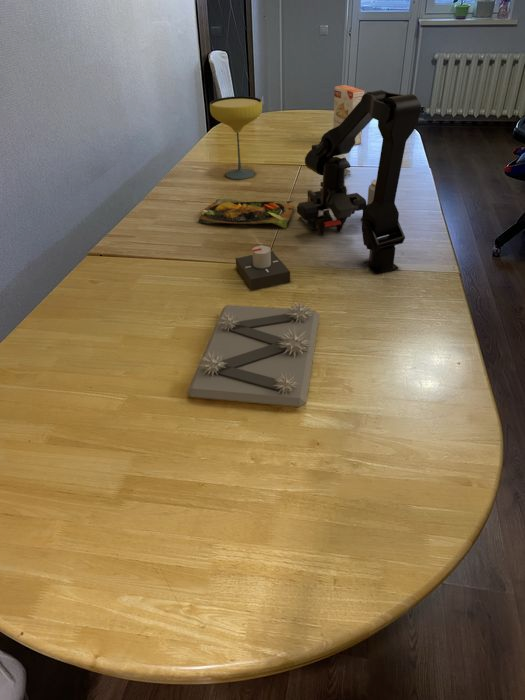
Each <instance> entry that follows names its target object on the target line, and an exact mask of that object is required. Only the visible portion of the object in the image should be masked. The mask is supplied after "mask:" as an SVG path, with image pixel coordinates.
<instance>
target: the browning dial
mask: <svg viewBox="0 0 525 700" xmlns="http://www.w3.org/2000/svg"><path fill="white" fill-rule="evenodd" d="M271 251H272V250H271V247H269V246H267V245H257V246H255V247H253V248H252V255H253V266H254V267H256V268H261V269H262V268H267V267H269V266H270V265H271Z"/></svg>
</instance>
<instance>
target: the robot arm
mask: <svg viewBox="0 0 525 700" xmlns="http://www.w3.org/2000/svg"><path fill="white" fill-rule="evenodd" d="M421 112H422V104H421V103H420V101H419V98H418V97H417V95H416V94H413V93H407V94H401V93H394V92H388V91H386V90H383V89H379V90H374V91H367V92H364V95H363V96H362V99H361V101H360V102H359V103H358V104H357V105H356V107H355V108H354V109H353V110H352V111H351V112H350V114H349V115H348V116H347V117H346V118H345V119H344V121H343V122H342V123H341V124H340V125H339V126H337V127H335V128H333V127H332V128H331V129H329V130H328V131H326V132H325V133H323V134H322V135H321V138H320V141H319V143H316V144H312V145H311V149H310V150H309V151H308V152H307V153H306V155H305V158H304V165H305V167H306V168H307V169H309V170H310V171H312V172H313V173H316V174H317V175H319V176H322V181H320V188H322V196H321V197H320V201H321V202H322V204H317V205H315V204H314V203H312V202H311V201H308V200H307V201H301V202H299V203H298V204H297V206H296V213H297V214H298V215H299V217H302V218H303V219H304V220H310V219H314V220H315V222H316V225H317V228H318V230H317V231H318V233H319V235H320V236H324V234H325V233H324V232H325V229H324V220H325V219H326V217H324V216H323V211H326V210H329V211H331V212H332V214H333V216H334V218H335V220H338V219H340V220H341V224H340V225H336V227H335V228H336V229H335V230H336V232H337V233H341V231H342V229H343V226H344V225H345V222H346V221H347V219H348V218H350V217H352V215H354V214H355V213H356V212H358V211H362V215H361V219H360V222H361V235H362V241H363V245H364V246H365V247H366V249H367V250H369V254H368V255H369V256H368V260H365V261H363V264H364V265H365V266H366V267H368V269H369V270H370V271H371V272H372V273H373V274H375V275H379V274H383V273H388V272H393V271H397V270H399V266H397V265H396V264H395V256H396V255H395V254H396V246H398V245H402V244H403V243H404V241H405V240H406V236H405V233H404V231H403V228H402V227H401V223H400V222H399V219H400V212H399V210H398V208H397V205H396V196H397V191H398V186H399V180H400V175H401V170H402V165H403V160H404V155H405V149H406V143H407V141H408V139H409V138H410V137H411V135H412V134H413V133H414V131H415V130H416V128H417V125H418V122H419V120H420V116H421ZM372 120H376V121H377V128H378V130H379V134H380V135H381V137H382V143H381V149H380V156H379V163H378V169H377V173H376V174H377V175H376V179H377V180H376V186H375V193H374V199H373V201H372V203H371V204H367V200H366V198H365V197H363V196H362V195H361V194H359V192H353V193H347V192H346V189H347V186H346V185H345V186H346V187H345V186H344V179H345V177H346V175H345V169H351V164H350V162H349V161H348V160H347V158H346V157H339V156H341V155H348V154H349V153H350V152H351V151H352V149H353V148H354V147H355V145H354V144H355V138H356V136H357V135H358V134H359V133H360V132H361V131H362V132H363V130H365V128H366V127H367V126H368V125H369V124H370V122H371V121H372ZM345 180H346V179H345Z"/></svg>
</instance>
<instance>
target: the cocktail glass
mask: <svg viewBox="0 0 525 700" xmlns="http://www.w3.org/2000/svg"><path fill="white" fill-rule="evenodd" d="M262 101H263V100H262V99H260V98H259V97H254V96H247V95H244V96H243V95H240V96H239V95H238V96H225V97H220V98H216V99H214V100H212V101H210V102H209V111H210V115H211V117H212V118H214V120H216V121H218V122H219V123H222V124H223V125H226V126H228V127H229V128H231V130H233V132H234V133H236V140H237V141H236V142H237V157H238V159H237V162H238V163H237V169H232V170H229V171H228V172H225V176H226V178H228V179H231V180H238V181H239V180H247V179H250V178H253V177H254V176H255V174H256V173H255V172H254V170H252V169H245V168H242V162H241V152H240V151H241V149H240V134H239V133H241V132H242V130H243V129H244V127H245V126H247V125H248V124H250V123H252V122H253V121H255V120H256V119H258V118H259V117H260V115H261V114H262V112H263V102H262Z"/></svg>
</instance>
